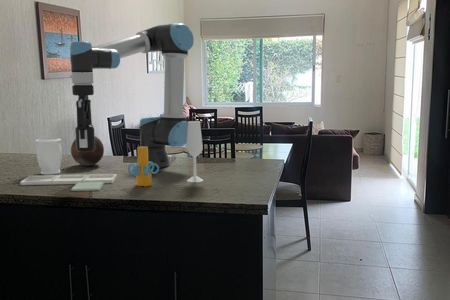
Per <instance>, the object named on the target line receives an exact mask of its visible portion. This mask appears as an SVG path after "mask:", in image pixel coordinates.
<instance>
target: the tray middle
mask: <svg viewBox="0 0 450 300" xmlns="http://www.w3.org/2000/svg"><path fill="white" fill-rule="evenodd" d="M87 176H88V174H59V175H58V177H56V178H55V179H54V180H53V181H52V184H51V185H52V186H53V185H76V184H77V183H83V180H84V179H85V178H86V177H87Z"/></svg>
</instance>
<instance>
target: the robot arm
mask: <svg viewBox="0 0 450 300" xmlns="http://www.w3.org/2000/svg"><path fill="white" fill-rule="evenodd" d="M193 46H194V35H193V32H192V30H191V28H190V27H189V26H188V25H186V24H184V23H180V22H179V23H175V22H174V23H170V24H169V23H168V24H159V25H155V26H152V27H150V28H146V29H144V30H141V31H138V32H136V33H135V35H131V36H128V37H124V38H121V39H117V40H114V41H110V42H107V43H103V44H98V45H96V46H92V43H91V42H90V41H83V40H82V41H81V40H80V41H78V40H77V41H72V42H71V43H70V48H69V56H70V58H69V59H70V71H71V75H70V76H69V77H70V78H71V83H72V84H73V85H72V86H71V89H72V90H71V92H72V95H73V96H78V99H77V101H75V105H76V127H77V128H76V127H75V129H76V130H79V144H80V148H87V147H88V145H87V130H86V119H91V126H93V127H94V125H93V123H92V109H91V108H92V107H91V102H92V101H91V99H89V96H93V95H94V92H95V91H94V85H92V84H94V73H93V72H94V71H93V70H95V69H96V70H100V69H104V70H107V69H108V70H112V69H118V68H119V66H120V63H121V59H124V58H126V57H130V56H132V55H133V56H134V55H136V54H139V53H142V54H147V53H152V52H154V53H155V52H160V53H161V57H163V58H164V82H163V83H164V87H163V88H164V92H163V93H164V94H163V96H164V97H163V98H164V99H163V101H164V102H163V113H162V114H161V115H160V116H152V117H143V118H141V119H140V120H139V141H140V143H139V144H140V145H139V147H140V146H147V147H148V162H153V163H155V164H157V165H158V166H159V169H160V168H166V167H169V166H170V158H169V156H168V153H167V150H166V147H167V146H168V147H173V148H176V147H177V148H180V147H181V148H182V147H184V146H185V145H187V132H188V122H189V121H187V116H186V115H185V114H184V91H185V90H184V89H185V88H184V87H185V84H184V83H185V82H184V81H185V80H184V79H185V59H186V58H187V57H188V55H189V50H191V49H192V47H193ZM136 163H137V164H136V165H138V160H137V161H136ZM150 164H151V163H150ZM150 164H149V165H150ZM150 169H152V166H151V167H150ZM154 169H157V167H156V166H155V165H154Z"/></svg>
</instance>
